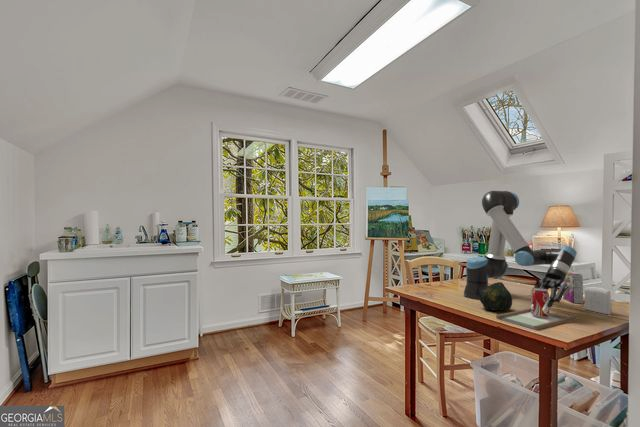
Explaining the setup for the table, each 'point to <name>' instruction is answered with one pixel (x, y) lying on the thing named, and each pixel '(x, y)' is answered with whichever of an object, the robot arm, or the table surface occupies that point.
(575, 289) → the candy bar box
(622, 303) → the table surface
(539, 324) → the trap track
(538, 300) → the soda can
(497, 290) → the squash
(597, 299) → the photo printer
